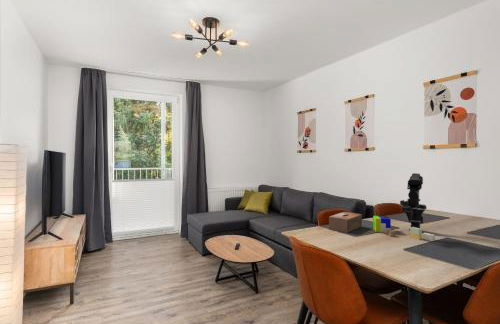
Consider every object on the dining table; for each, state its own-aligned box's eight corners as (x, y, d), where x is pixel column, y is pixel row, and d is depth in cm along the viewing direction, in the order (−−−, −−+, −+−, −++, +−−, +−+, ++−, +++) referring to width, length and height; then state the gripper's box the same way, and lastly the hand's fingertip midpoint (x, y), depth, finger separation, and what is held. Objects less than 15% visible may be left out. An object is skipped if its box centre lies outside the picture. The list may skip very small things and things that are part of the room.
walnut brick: (385, 234, 204) (385, 229, 204) (389, 234, 204) (389, 229, 204) (390, 236, 198) (390, 231, 198) (394, 236, 198) (394, 231, 198)
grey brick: (422, 238, 193) (422, 233, 193) (425, 237, 195) (425, 232, 195) (432, 240, 188) (432, 235, 188) (434, 240, 190) (434, 234, 190)
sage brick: (410, 232, 195) (410, 227, 195) (413, 231, 197) (413, 226, 197) (418, 234, 190) (418, 229, 190) (421, 234, 191) (421, 228, 191)
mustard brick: (410, 237, 195) (410, 232, 195) (412, 237, 197) (412, 231, 197) (419, 239, 190) (419, 234, 190) (421, 239, 192) (421, 233, 192)
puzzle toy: (390, 232, 207) (390, 219, 207) (375, 232, 209) (375, 218, 209) (386, 229, 217) (387, 216, 217) (372, 228, 219) (372, 215, 219)
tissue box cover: (344, 223, 236) (344, 211, 236) (361, 226, 226) (361, 214, 226) (328, 229, 217) (329, 216, 217) (347, 233, 207) (347, 219, 207)
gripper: (411, 195, 207) (411, 216, 207) (394, 197, 198) (394, 219, 199) (427, 197, 197) (426, 219, 197) (409, 199, 188) (409, 222, 189)
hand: (413, 220), depth 196 cm, fingers open, 9 cm apart
